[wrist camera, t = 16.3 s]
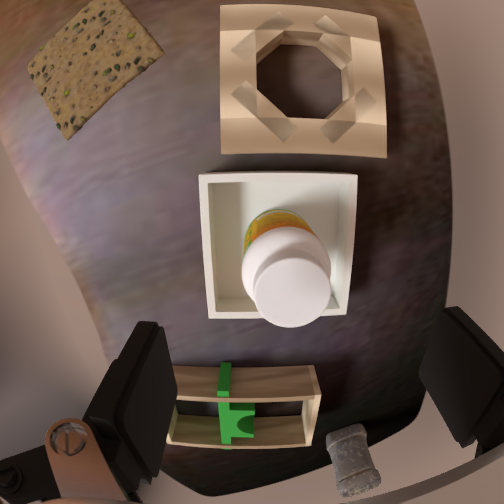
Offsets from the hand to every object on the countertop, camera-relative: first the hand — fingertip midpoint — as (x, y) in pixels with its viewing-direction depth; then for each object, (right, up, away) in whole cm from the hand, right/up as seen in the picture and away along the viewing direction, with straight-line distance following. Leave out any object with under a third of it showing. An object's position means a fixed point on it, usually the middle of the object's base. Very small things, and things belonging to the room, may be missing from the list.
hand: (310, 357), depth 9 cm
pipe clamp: (-3, -13, +21) cm, 25 cm away
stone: (+11, -21, +24) cm, 34 cm away
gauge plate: (+2, +17, +11) cm, 20 cm away
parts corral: (-3, -13, +21) cm, 25 cm away
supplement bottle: (0, +4, +15) cm, 16 cm away
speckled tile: (-17, +21, +11) cm, 29 cm away
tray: (0, +4, +16) cm, 16 cm away
